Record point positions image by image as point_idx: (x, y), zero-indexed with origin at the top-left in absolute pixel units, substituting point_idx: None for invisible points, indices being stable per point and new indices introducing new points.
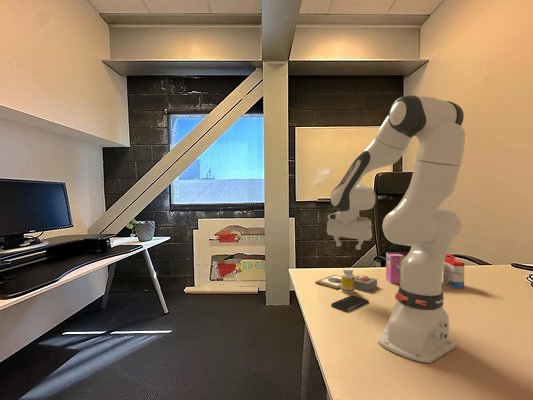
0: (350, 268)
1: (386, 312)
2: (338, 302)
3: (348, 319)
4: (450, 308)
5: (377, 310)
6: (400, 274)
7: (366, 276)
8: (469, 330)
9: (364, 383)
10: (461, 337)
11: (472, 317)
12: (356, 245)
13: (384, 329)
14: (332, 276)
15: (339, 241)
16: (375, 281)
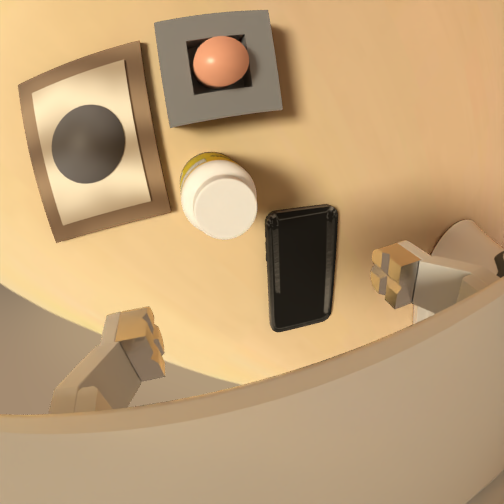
0: (225, 183)
1: (395, 226)
2: (278, 304)
3: (346, 333)
4: (467, 69)
5: (376, 236)
6: None
7: (234, 45)
8: (497, 167)
9: None
10: (491, 207)
11: (493, 96)
12: (402, 305)
13: (418, 312)
14: (31, 110)
15: (115, 346)
16: (268, 29)
